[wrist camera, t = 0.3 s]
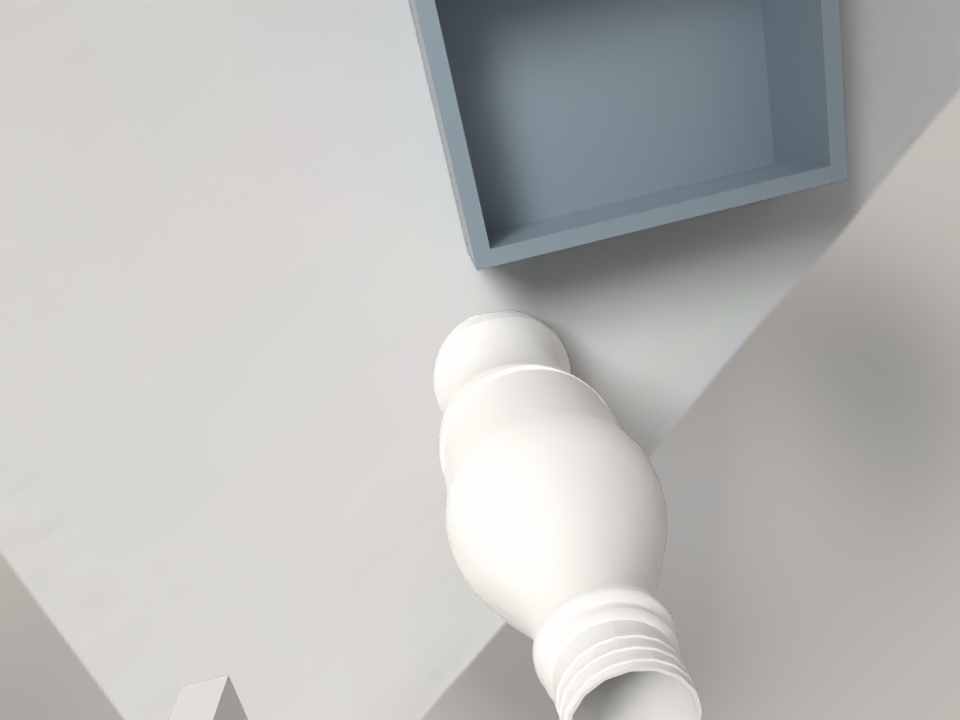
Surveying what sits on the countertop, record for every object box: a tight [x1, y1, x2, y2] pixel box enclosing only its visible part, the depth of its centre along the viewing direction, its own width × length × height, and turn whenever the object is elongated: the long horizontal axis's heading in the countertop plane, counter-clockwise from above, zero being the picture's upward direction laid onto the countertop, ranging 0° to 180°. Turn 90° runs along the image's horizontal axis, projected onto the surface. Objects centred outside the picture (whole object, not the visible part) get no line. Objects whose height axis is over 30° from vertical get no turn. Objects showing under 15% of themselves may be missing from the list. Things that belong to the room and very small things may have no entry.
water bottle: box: [434, 310, 702, 720], centre depth 26 cm, size 7×7×25 cm
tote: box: [409, 0, 848, 270], centre depth 31 cm, size 14×18×6 cm
